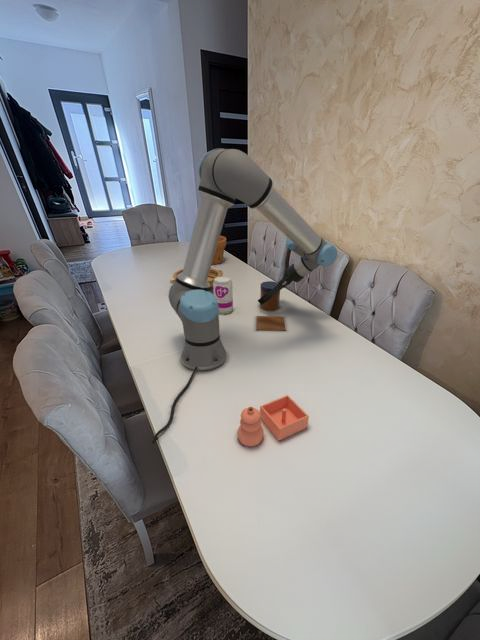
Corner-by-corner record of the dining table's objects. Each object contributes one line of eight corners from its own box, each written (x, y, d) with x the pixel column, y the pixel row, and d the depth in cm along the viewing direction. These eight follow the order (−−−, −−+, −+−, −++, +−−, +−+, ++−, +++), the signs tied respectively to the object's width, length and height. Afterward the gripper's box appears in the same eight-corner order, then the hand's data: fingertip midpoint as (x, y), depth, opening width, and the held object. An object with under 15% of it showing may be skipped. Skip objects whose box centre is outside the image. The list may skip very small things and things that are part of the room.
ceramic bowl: (183, 303, 146) (181, 287, 142) (162, 287, 162) (160, 273, 158) (234, 289, 162) (234, 275, 158) (211, 276, 178) (210, 263, 173)
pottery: (286, 406, 88) (289, 379, 83) (307, 427, 82) (311, 399, 76) (230, 429, 80) (229, 401, 75) (248, 455, 74) (248, 426, 68)
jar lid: (280, 292, 136) (281, 288, 135) (260, 292, 136) (260, 288, 135) (279, 285, 144) (280, 281, 143) (260, 284, 144) (260, 281, 143)
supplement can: (230, 315, 136) (229, 283, 128) (212, 313, 138) (210, 281, 129) (235, 307, 143) (234, 276, 135) (218, 306, 144) (216, 275, 136)
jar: (279, 311, 141) (280, 289, 135) (260, 310, 141) (260, 289, 135) (278, 303, 149) (279, 282, 143) (260, 302, 149) (260, 282, 143)
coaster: (285, 330, 126) (285, 329, 125) (256, 330, 125) (256, 329, 125) (283, 317, 136) (283, 316, 135) (256, 317, 136) (256, 316, 135)
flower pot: (187, 262, 200) (185, 238, 192) (210, 255, 214) (208, 233, 206) (212, 268, 190) (210, 244, 182) (233, 260, 205) (232, 237, 197)
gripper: (296, 286, 122) (260, 314, 135) (311, 269, 141) (278, 294, 153) (284, 271, 120) (249, 300, 133) (301, 256, 139) (268, 283, 152)
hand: (264, 297), depth 143 cm, fingers open, 12 cm apart
